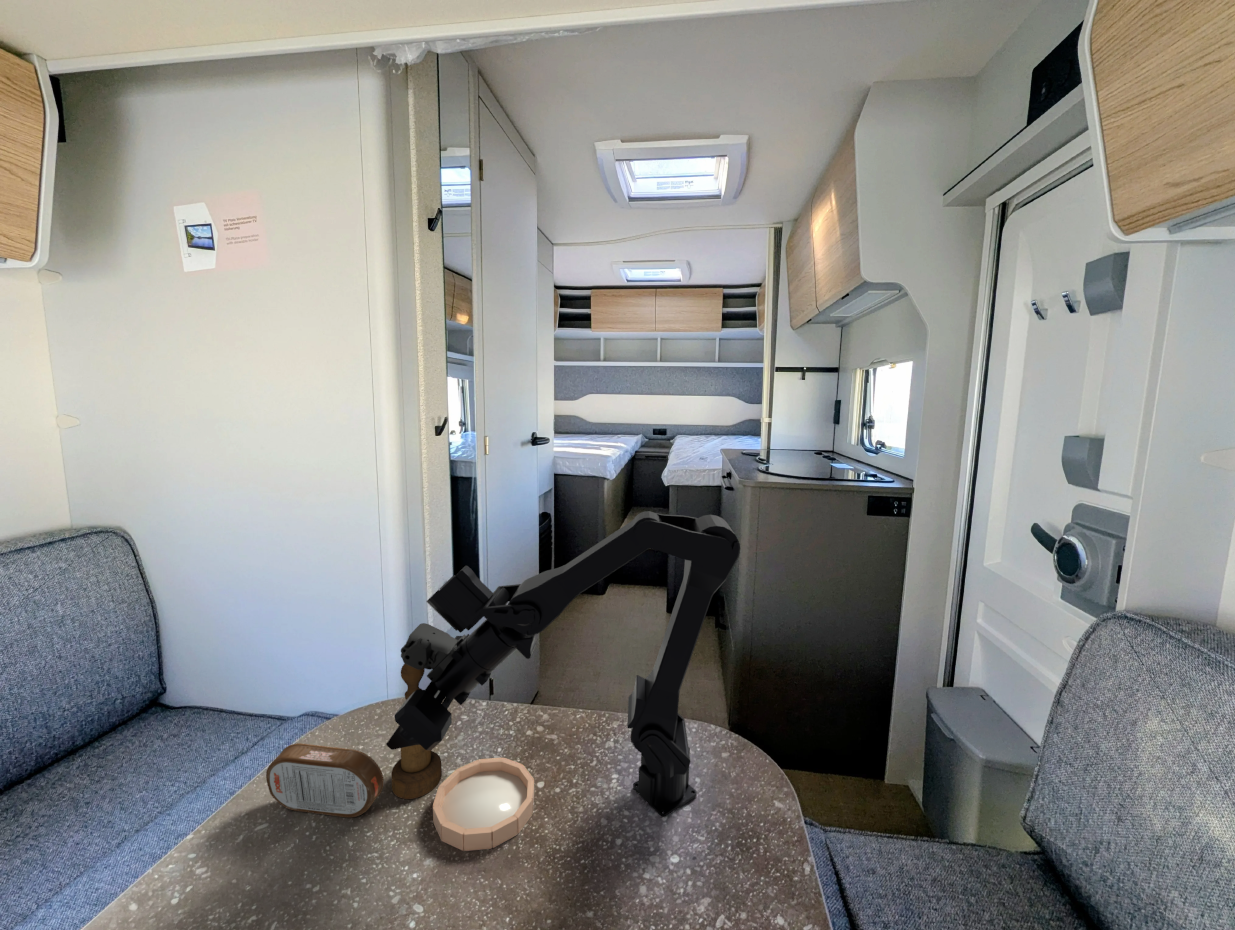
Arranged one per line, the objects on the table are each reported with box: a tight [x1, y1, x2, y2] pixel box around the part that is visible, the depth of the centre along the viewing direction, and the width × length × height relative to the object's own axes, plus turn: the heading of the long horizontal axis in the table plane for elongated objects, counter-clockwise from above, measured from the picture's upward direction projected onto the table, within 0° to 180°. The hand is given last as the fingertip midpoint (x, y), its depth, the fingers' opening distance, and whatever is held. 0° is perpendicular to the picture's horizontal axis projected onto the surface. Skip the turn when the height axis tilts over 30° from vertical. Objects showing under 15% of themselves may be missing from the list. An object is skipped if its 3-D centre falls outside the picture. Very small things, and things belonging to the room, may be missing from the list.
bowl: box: [432, 757, 535, 852], centre depth 66 cm, size 13×13×2 cm
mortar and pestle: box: [391, 663, 443, 800], centre depth 69 cm, size 7×6×18 cm
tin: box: [265, 742, 385, 818], centre depth 65 cm, size 15×3×8 cm, turn 83°
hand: (405, 723), depth 69 cm, fingers open, 9 cm apart
